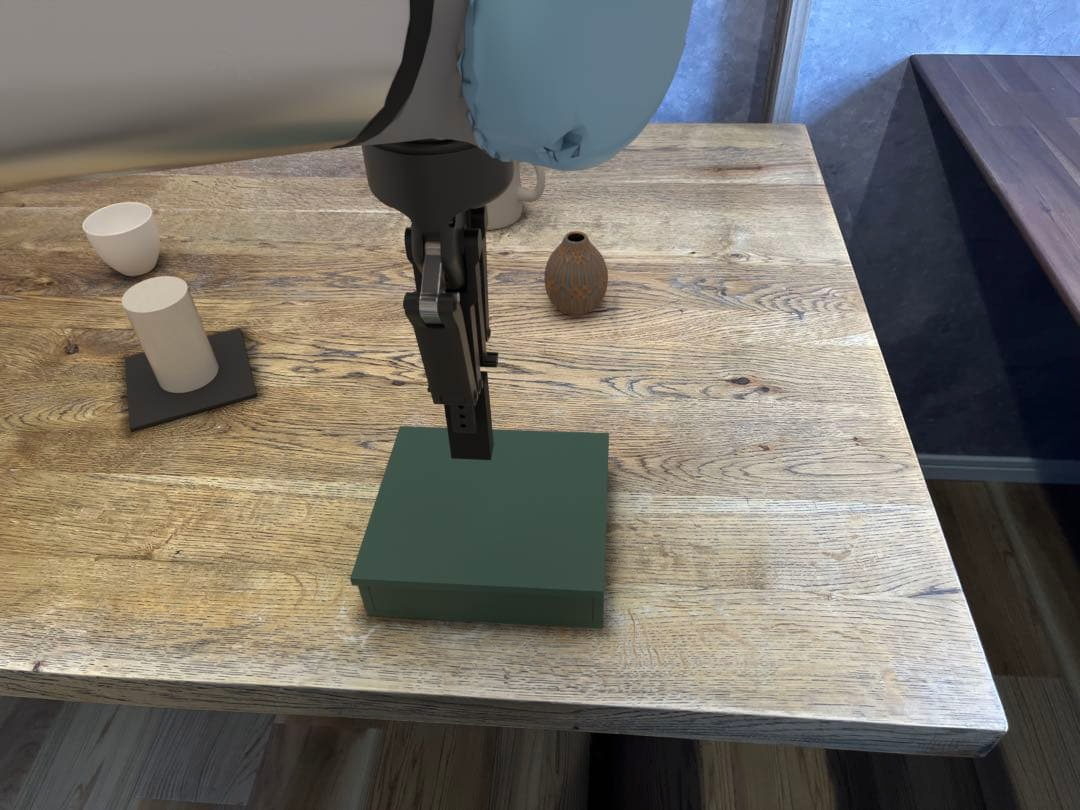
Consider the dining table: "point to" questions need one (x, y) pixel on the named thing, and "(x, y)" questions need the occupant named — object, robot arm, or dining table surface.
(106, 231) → the cup
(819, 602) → the dining table surface
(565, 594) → the lid
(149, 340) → the beige cylinder
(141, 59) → the robot arm
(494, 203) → the mug
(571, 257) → the vase
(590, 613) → the box
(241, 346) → the mat
